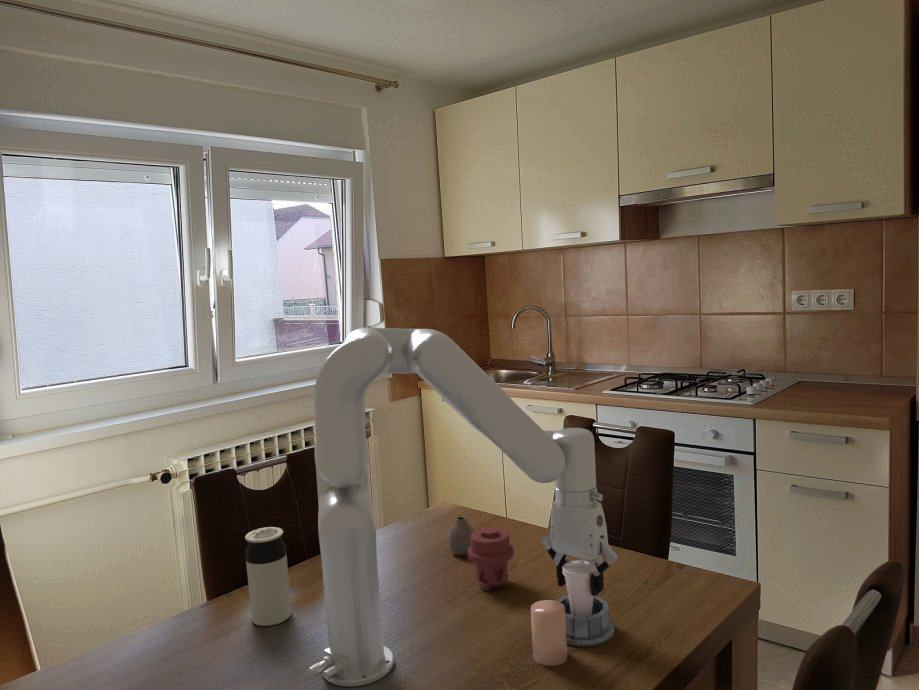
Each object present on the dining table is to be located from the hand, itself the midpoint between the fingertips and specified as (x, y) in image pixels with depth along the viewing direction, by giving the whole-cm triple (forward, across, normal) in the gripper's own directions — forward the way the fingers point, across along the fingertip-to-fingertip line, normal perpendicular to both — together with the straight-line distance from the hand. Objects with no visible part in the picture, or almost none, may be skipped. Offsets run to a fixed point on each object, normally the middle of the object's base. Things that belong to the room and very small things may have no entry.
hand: (580, 587), depth 131 cm
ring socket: (+8, 0, 0) cm, 8 cm away
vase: (+9, +43, -16) cm, 47 cm away
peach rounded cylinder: (+8, 0, +11) cm, 14 cm away
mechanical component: (+9, +26, -6) cm, 28 cm away
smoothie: (+6, 0, 0) cm, 6 cm away
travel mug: (+8, +55, +31) cm, 64 cm away
